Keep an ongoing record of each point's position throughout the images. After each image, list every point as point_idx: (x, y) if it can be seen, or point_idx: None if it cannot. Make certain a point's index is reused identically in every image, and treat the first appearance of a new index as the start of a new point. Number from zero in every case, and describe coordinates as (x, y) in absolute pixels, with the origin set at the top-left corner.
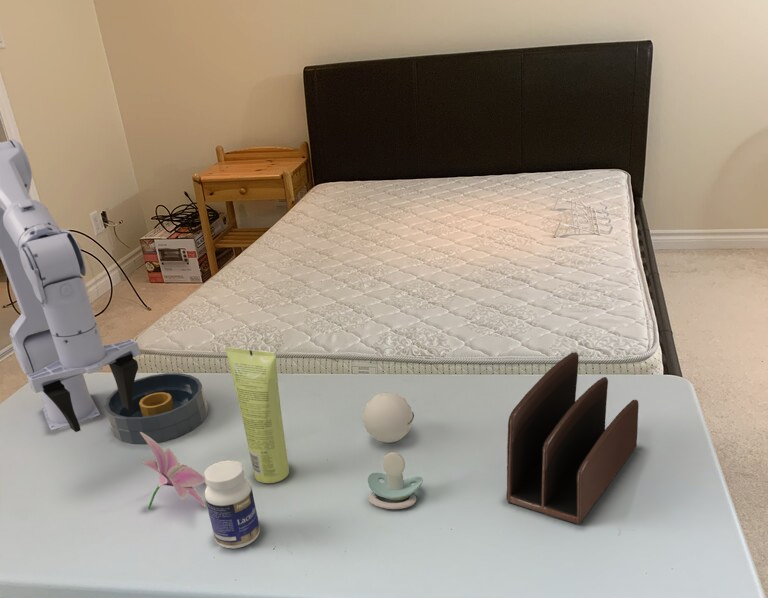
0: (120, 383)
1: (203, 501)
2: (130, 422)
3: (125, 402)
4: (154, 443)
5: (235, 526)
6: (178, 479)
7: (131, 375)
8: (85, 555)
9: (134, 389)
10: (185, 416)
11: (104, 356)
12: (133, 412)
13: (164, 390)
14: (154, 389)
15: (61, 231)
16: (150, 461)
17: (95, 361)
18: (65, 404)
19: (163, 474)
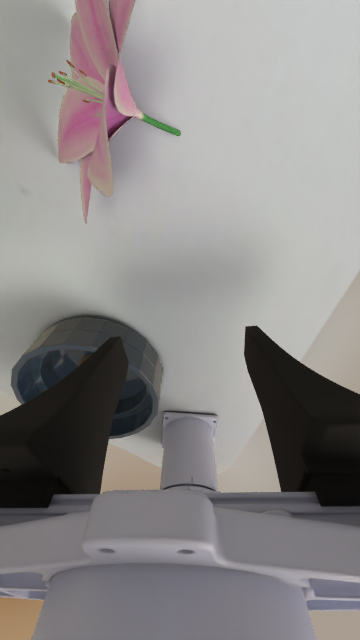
0: (98, 405)
1: (70, 47)
2: (135, 361)
3: (117, 356)
4: (94, 167)
5: None
6: (94, 110)
7: (33, 406)
8: (345, 40)
9: (113, 426)
10: (54, 334)
11: (56, 577)
12: (128, 398)
13: None
14: None
15: None
16: (125, 29)
17: (118, 583)
18: (309, 382)
19: (112, 36)
